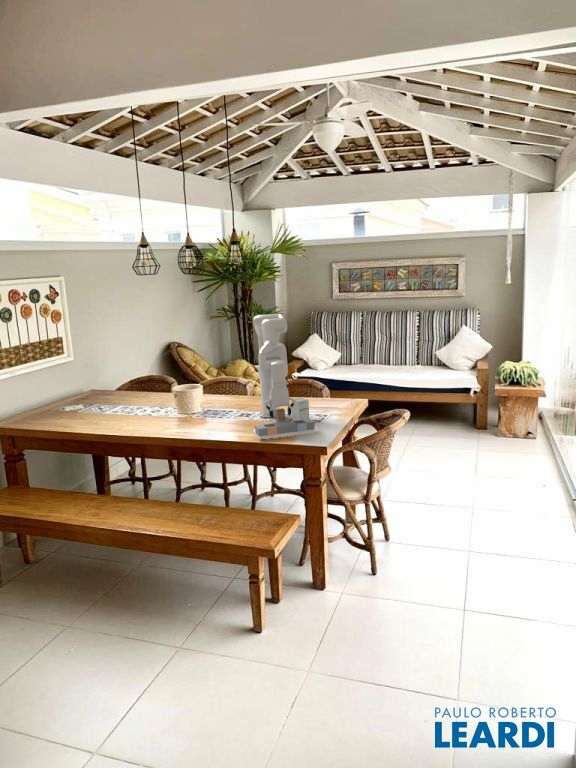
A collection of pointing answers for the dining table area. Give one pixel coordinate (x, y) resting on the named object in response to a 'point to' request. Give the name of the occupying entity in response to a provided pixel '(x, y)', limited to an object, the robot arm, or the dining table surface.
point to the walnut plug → (280, 415)
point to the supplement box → (300, 409)
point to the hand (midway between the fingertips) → (280, 416)
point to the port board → (284, 429)
